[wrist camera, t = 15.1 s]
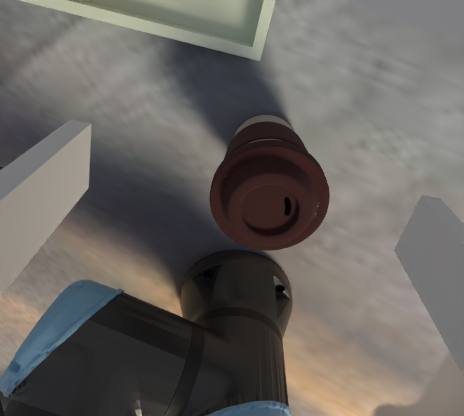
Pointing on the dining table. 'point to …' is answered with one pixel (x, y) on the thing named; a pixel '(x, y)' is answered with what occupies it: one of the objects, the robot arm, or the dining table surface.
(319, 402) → the dining table surface
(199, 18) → the sage tray
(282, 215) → the coffee cup
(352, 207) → the dining table surface
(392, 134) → the dining table surface
